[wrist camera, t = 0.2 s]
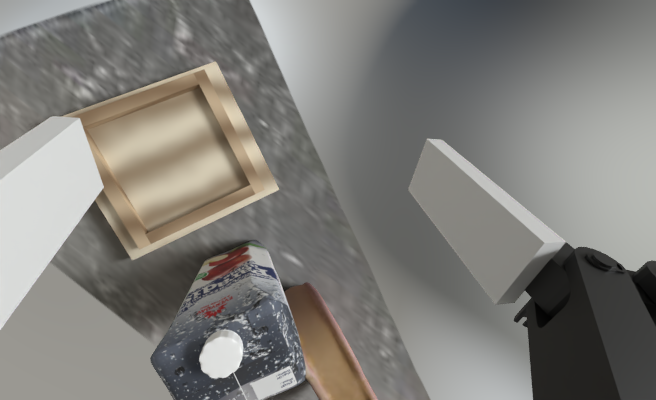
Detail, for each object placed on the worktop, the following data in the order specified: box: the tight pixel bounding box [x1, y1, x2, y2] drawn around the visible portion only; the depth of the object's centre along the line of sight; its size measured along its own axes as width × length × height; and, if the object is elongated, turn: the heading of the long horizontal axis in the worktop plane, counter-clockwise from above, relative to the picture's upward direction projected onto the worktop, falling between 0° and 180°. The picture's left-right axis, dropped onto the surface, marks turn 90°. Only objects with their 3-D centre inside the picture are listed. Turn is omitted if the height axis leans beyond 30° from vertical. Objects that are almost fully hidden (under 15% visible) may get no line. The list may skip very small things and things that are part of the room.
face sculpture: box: [284, 282, 378, 400], centre depth 42 cm, size 20×7×17 cm, turn 28°
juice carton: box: [151, 240, 306, 400], centre depth 33 cm, size 9×10×27 cm
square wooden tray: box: [61, 61, 279, 261], centre depth 40 cm, size 20×22×4 cm
